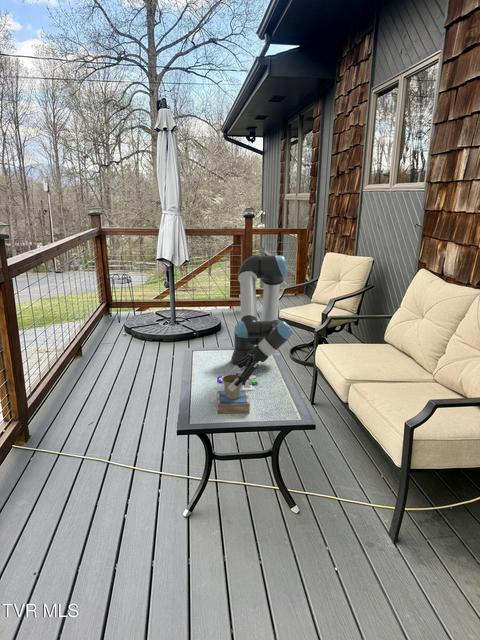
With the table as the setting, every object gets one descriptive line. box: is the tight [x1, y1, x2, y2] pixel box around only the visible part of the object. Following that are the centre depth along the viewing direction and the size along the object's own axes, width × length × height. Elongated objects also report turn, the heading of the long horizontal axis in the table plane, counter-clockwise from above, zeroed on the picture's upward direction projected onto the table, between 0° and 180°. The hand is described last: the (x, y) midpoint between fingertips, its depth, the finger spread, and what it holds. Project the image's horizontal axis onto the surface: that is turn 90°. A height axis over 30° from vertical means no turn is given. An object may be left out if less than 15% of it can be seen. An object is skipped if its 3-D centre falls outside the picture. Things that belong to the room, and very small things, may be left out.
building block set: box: [216, 370, 259, 392], centre depth 220 cm, size 25×20×4 cm
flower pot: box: [222, 374, 242, 399], centre depth 190 cm, size 9×9×9 cm
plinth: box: [216, 389, 251, 415], centre depth 192 cm, size 14×14×5 cm
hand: (229, 383), depth 189 cm, fingers open, 13 cm apart
